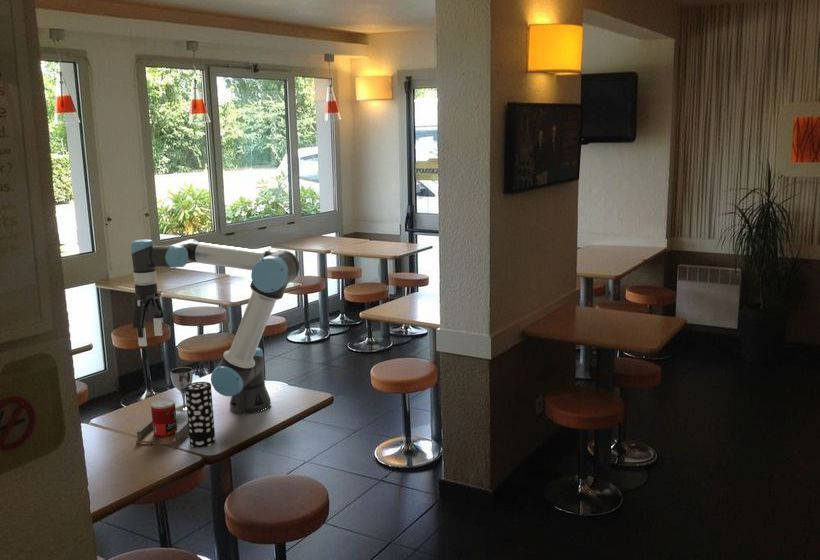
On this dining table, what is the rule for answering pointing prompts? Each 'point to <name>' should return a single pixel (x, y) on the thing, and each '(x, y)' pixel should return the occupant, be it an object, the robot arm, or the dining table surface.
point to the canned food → (164, 417)
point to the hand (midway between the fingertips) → (151, 340)
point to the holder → (148, 436)
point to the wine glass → (181, 382)
